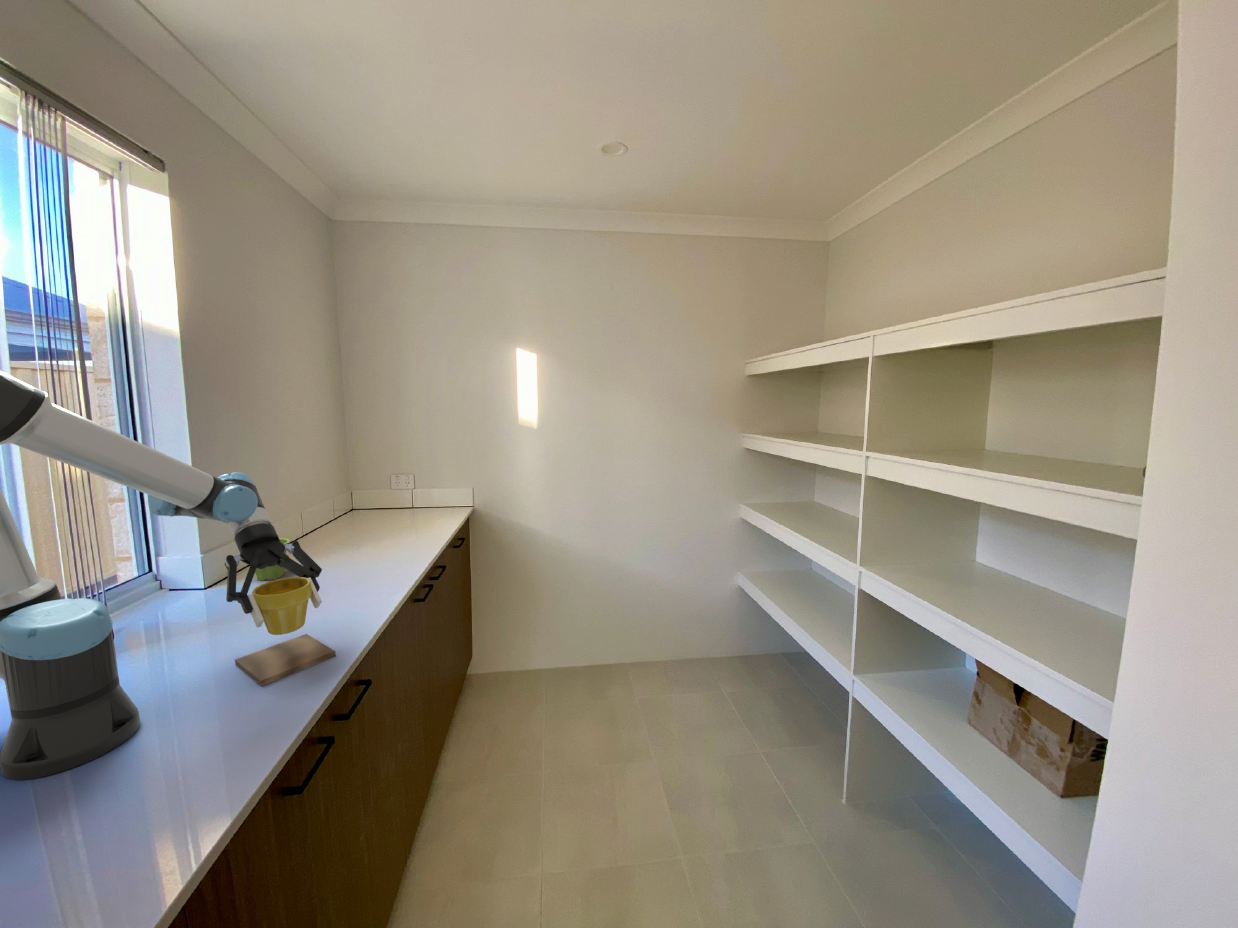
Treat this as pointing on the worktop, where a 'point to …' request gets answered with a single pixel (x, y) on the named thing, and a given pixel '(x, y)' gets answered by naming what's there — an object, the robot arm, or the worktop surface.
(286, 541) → the plant pot
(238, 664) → the walnut board
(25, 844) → the worktop surface
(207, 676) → the worktop surface
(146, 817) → the worktop surface
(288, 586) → the plant pot
